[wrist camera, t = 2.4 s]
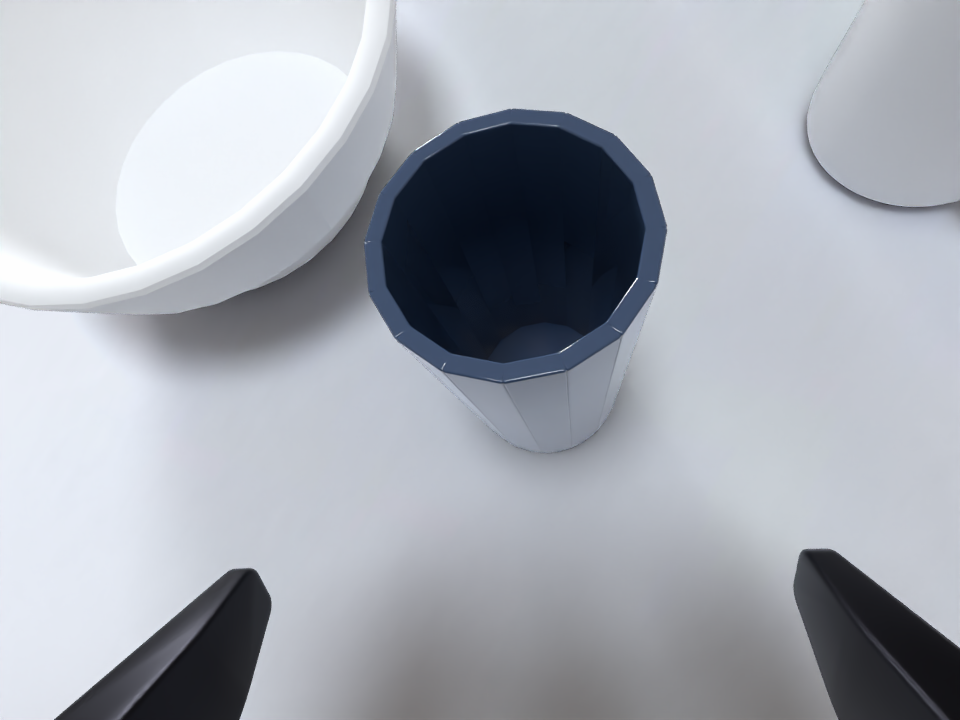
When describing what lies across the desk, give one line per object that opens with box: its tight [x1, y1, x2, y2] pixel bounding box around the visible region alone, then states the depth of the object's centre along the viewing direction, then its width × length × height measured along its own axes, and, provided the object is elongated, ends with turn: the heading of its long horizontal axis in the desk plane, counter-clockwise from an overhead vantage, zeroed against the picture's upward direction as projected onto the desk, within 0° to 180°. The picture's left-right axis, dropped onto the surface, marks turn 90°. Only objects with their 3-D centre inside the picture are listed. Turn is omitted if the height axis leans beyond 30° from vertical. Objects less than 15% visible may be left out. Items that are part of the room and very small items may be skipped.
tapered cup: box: [364, 109, 667, 453], centre depth 17 cm, size 6×6×13 cm
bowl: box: [0, 0, 397, 315], centre depth 25 cm, size 22×22×8 cm
